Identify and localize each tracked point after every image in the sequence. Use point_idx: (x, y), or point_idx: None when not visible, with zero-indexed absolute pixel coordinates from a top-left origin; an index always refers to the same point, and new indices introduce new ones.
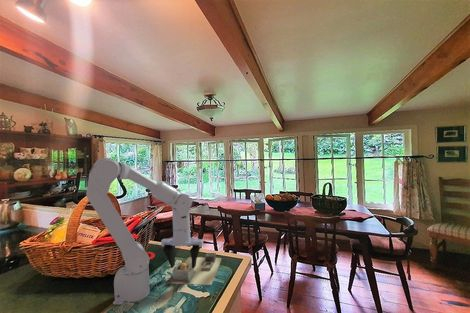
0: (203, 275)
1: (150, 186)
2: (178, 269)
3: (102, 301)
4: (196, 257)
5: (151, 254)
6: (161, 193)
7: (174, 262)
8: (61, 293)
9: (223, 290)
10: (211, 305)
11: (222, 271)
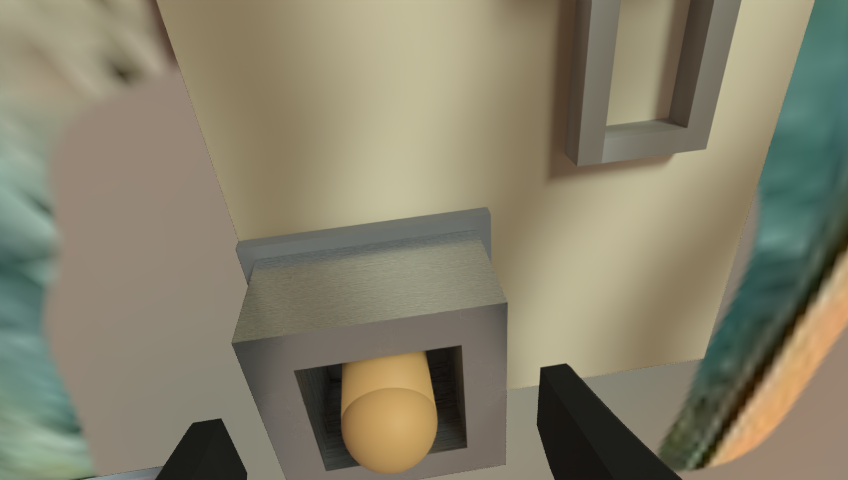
0: (608, 252)
1: None
2: (314, 395)
3: None
4: (646, 468)
5: None
6: None
7: (213, 460)
8: None
9: (783, 339)
10: (690, 458)
11: (825, 48)
